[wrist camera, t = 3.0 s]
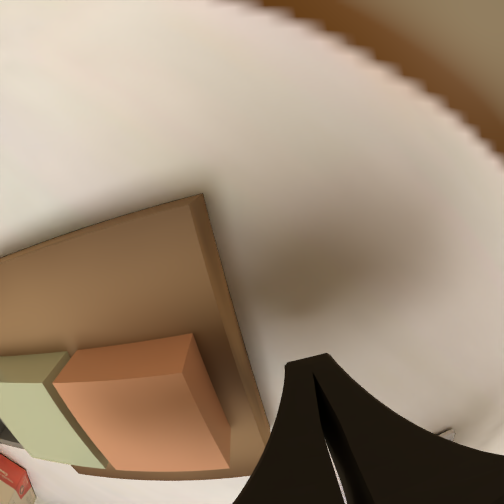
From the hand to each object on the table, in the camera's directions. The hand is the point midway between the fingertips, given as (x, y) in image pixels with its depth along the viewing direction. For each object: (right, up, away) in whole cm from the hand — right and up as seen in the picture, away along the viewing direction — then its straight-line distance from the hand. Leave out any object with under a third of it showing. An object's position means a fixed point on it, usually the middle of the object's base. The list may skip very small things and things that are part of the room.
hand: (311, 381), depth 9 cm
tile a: (-5, -1, +1) cm, 6 cm away
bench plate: (-8, -1, +4) cm, 9 cm away
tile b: (-10, -2, +1) cm, 11 cm away
